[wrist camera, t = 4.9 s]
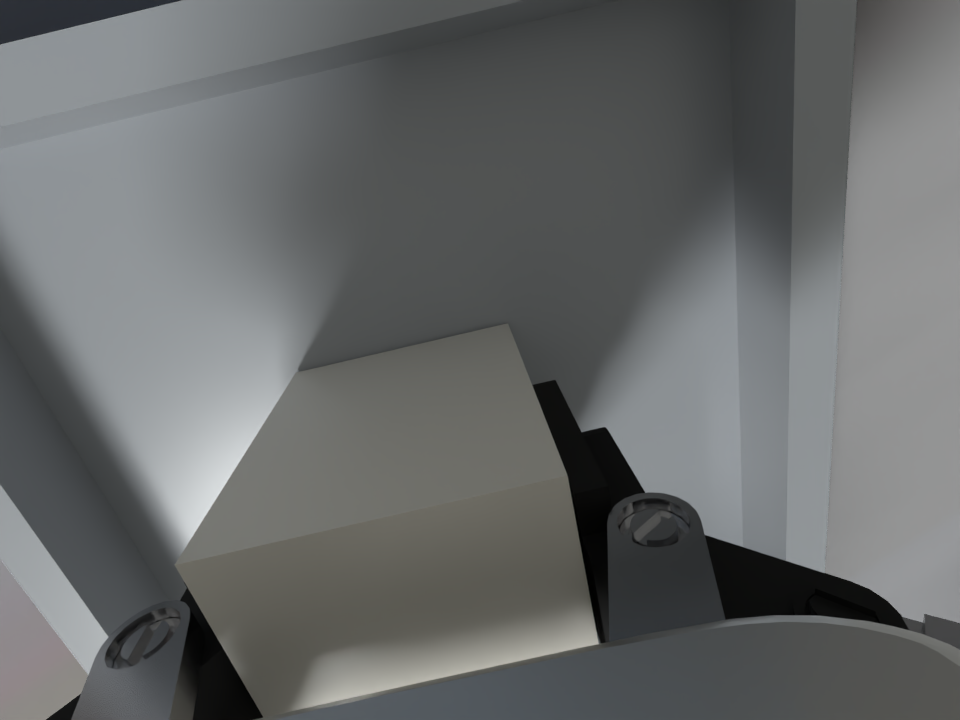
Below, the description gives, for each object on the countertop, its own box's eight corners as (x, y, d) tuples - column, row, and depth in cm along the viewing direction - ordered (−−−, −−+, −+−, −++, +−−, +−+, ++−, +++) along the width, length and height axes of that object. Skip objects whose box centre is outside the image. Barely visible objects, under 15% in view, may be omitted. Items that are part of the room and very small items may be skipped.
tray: (751, -84, 10) (866, -166, 8) (757, 584, 17) (819, 668, 15) (-130, 129, 11) (-332, 125, 8) (229, 704, 18) (191, 810, 15)
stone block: (507, 323, 12) (567, 475, 6) (544, 497, 14) (615, 731, 8) (295, 372, 12) (175, 565, 7) (361, 539, 14) (310, 798, 8)
